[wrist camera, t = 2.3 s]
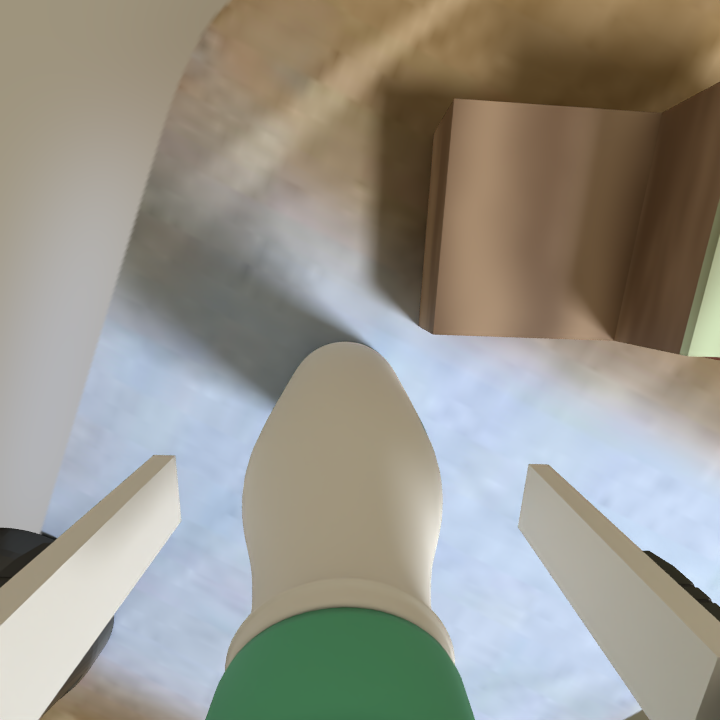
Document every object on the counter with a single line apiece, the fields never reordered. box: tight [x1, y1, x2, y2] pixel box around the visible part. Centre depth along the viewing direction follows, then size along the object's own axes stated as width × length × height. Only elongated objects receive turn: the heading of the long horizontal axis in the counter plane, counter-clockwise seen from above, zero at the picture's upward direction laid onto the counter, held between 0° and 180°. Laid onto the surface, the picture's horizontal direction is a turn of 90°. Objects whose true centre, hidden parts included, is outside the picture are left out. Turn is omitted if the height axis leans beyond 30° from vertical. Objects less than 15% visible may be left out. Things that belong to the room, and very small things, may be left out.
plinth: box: [419, 82, 720, 360], centre depth 18 cm, size 22×13×8 cm, turn 88°
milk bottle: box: [205, 342, 475, 720], centre depth 14 cm, size 8×8×20 cm
